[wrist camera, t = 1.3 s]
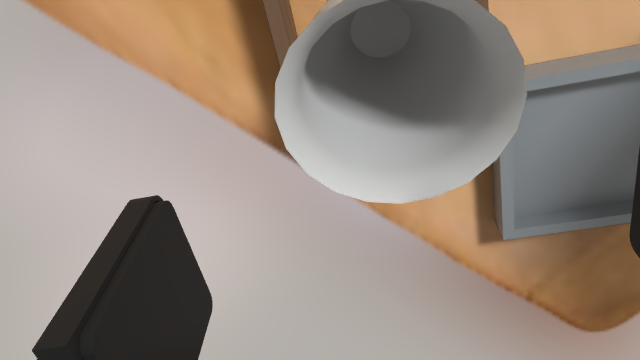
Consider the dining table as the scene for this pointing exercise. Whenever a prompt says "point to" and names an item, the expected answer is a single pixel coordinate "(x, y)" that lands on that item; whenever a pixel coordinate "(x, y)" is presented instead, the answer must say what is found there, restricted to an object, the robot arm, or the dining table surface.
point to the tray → (572, 147)
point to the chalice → (399, 96)
